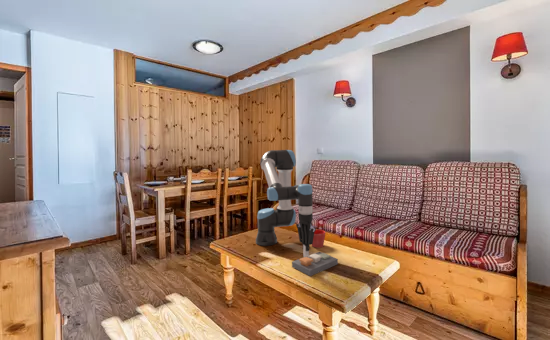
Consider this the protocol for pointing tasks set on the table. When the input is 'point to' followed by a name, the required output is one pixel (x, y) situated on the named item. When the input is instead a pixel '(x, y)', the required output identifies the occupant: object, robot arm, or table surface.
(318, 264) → the button panel
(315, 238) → the flower pot
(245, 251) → the table surface
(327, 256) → the sage button
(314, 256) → the cream button
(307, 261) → the rust button
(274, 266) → the table surface
